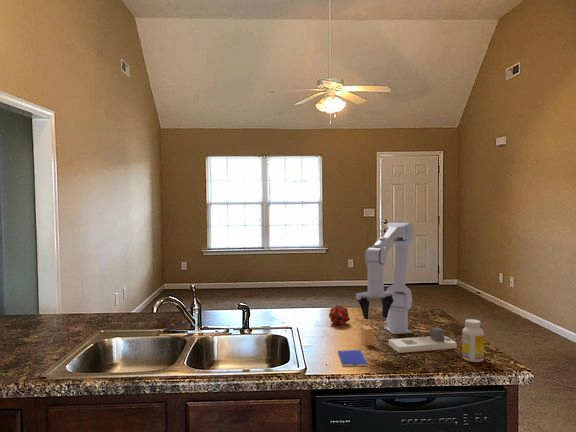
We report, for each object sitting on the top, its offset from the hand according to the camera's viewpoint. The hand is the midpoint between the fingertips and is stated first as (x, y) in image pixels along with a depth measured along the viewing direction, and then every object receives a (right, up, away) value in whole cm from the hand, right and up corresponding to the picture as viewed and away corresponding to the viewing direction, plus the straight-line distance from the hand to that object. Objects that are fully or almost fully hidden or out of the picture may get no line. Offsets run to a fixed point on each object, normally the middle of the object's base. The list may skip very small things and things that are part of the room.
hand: (375, 317), depth 165 cm
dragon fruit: (-10, -10, +31) cm, 34 cm away
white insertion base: (+17, -10, -1) cm, 20 cm away
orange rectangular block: (-2, -10, +4) cm, 11 cm away
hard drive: (-10, -12, -13) cm, 20 cm away
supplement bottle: (+30, -11, -14) cm, 35 cm away
